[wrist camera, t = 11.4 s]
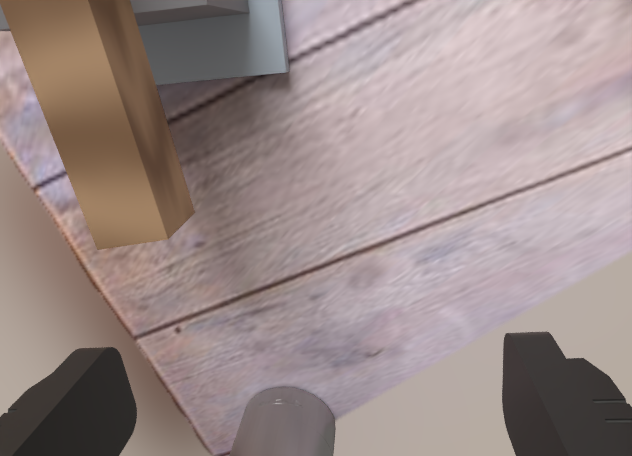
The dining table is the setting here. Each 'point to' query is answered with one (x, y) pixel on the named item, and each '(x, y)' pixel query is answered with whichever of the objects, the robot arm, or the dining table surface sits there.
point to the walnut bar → (103, 116)
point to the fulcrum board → (209, 38)
